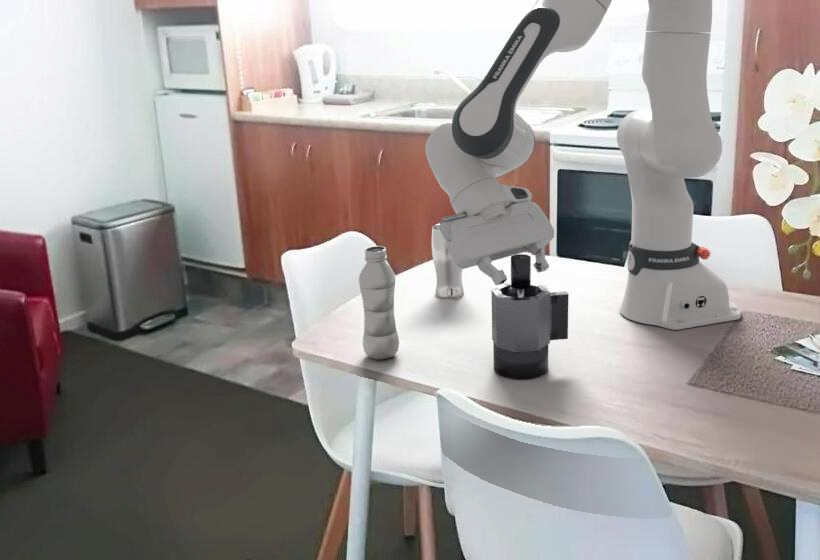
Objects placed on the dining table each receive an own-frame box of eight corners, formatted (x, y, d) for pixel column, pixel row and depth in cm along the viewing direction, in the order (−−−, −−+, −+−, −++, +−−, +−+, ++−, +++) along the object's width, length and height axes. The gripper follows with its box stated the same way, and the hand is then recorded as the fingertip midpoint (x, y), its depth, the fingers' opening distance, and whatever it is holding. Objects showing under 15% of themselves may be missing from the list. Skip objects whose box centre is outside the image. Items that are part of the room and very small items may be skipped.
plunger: (531, 330, 146) (532, 251, 142) (539, 341, 142) (539, 260, 137) (502, 332, 146) (502, 253, 141) (509, 343, 141) (509, 262, 137)
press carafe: (558, 353, 151) (559, 278, 146) (573, 375, 142) (575, 296, 137) (488, 359, 149) (487, 284, 145) (499, 381, 141) (499, 302, 136)
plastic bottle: (405, 351, 154) (400, 245, 148) (389, 366, 149) (383, 256, 142) (373, 347, 157) (367, 242, 151) (356, 361, 151) (349, 253, 145)
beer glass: (463, 300, 179) (461, 231, 174) (430, 299, 180) (428, 230, 175) (468, 289, 185) (466, 222, 181) (436, 288, 187) (434, 222, 182)
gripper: (442, 208, 136) (484, 280, 132) (535, 187, 147) (576, 253, 143) (426, 229, 141) (466, 300, 136) (517, 208, 152) (556, 272, 148)
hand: (523, 276), depth 140 cm, fingers open, 8 cm apart
